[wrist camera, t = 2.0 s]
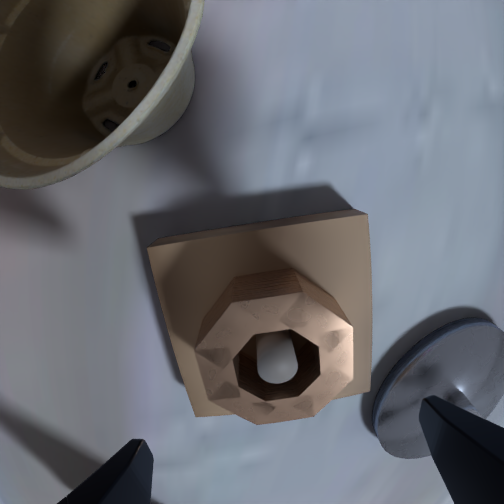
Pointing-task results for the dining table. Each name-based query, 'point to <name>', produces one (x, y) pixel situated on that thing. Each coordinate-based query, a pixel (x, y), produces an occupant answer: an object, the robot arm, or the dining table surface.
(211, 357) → the octagonal wooden ring
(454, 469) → the robot arm
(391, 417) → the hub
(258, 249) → the stand
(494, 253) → the dining table surface
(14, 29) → the flower pot
